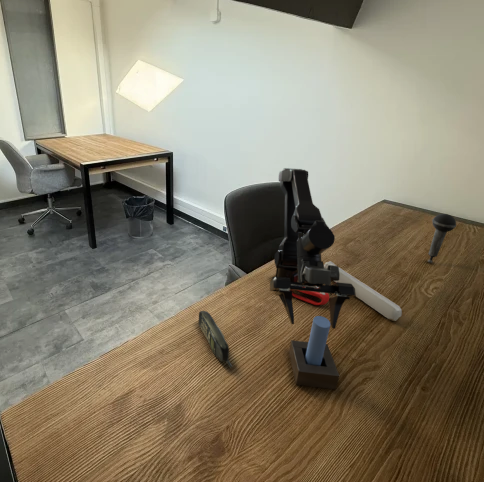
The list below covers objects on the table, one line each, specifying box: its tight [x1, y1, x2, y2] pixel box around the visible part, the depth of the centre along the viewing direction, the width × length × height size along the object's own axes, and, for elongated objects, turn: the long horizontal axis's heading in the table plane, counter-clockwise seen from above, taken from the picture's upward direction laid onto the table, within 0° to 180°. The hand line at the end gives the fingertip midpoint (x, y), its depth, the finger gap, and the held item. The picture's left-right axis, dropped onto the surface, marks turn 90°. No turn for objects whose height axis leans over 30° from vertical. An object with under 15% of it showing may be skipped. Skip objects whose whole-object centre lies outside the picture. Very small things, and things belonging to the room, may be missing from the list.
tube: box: [324, 261, 403, 322], centre depth 94 cm, size 5×5×25 cm
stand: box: [288, 340, 340, 390], centre depth 68 cm, size 8×8×4 cm
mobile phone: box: [198, 310, 233, 369], centre depth 74 cm, size 5×3×15 cm
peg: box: [305, 315, 331, 366], centre depth 67 cm, size 3×3×14 cm
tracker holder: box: [292, 287, 330, 306], centre depth 92 cm, size 12×4×10 cm
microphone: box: [427, 213, 457, 264], centre depth 111 cm, size 7×7×20 cm
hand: (312, 326), depth 70 cm, fingers open, 9 cm apart
